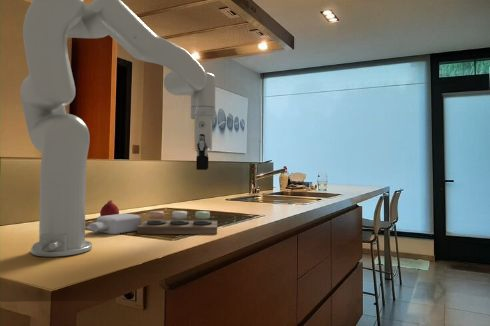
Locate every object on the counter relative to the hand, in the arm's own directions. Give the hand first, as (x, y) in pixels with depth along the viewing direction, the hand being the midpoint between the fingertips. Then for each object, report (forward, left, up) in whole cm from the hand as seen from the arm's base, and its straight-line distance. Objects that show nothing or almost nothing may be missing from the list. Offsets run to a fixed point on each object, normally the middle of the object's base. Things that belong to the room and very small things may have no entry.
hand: (202, 169), depth 113 cm
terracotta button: (0, +14, -15) cm, 20 cm away
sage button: (0, 0, -15) cm, 15 cm away
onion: (+10, +31, -19) cm, 37 cm away
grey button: (0, +7, -15) cm, 16 cm away
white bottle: (-3, +27, -19) cm, 33 cm away
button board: (0, +7, -19) cm, 20 cm away
